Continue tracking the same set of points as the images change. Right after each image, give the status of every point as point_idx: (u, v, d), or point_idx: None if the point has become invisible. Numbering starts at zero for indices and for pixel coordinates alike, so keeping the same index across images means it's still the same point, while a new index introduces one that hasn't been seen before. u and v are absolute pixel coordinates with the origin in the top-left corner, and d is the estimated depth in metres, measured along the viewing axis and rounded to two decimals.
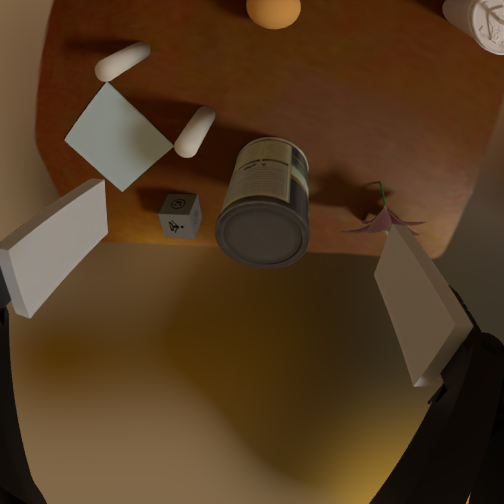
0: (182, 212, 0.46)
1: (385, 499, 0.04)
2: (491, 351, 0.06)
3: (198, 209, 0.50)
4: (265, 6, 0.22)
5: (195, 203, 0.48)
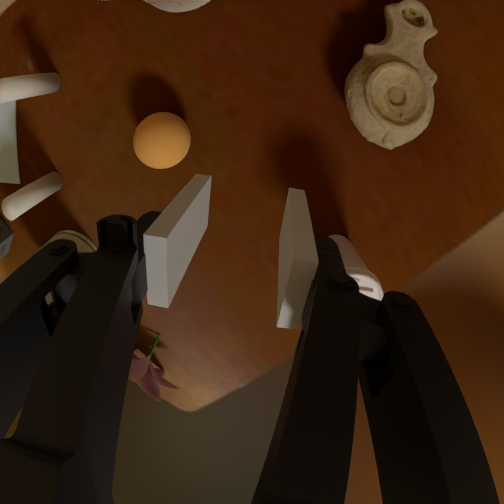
0: None
1: (267, 465, 0.05)
2: (338, 288, 0.08)
3: (7, 245, 0.38)
4: (146, 141, 0.25)
5: (7, 240, 0.37)
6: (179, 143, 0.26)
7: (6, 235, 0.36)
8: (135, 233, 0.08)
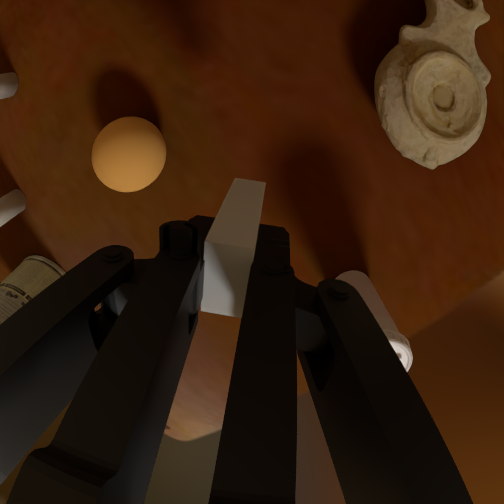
0: None
1: None
2: (272, 274, 0.08)
3: None
4: (104, 158, 0.18)
5: None
6: (148, 159, 0.19)
7: None
8: (200, 242, 0.08)
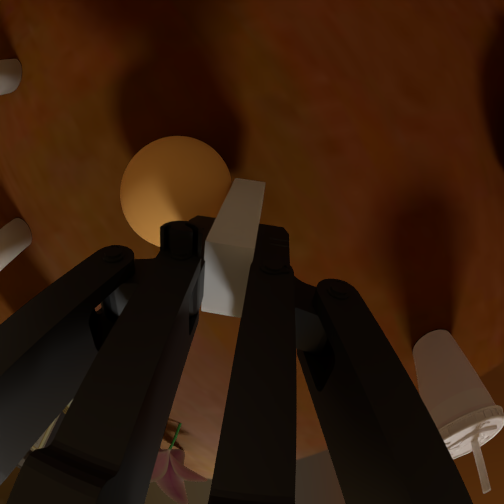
0: None
1: None
2: (271, 274, 0.08)
3: None
4: (133, 199, 0.12)
5: None
6: (200, 212, 0.13)
7: None
8: (200, 242, 0.08)
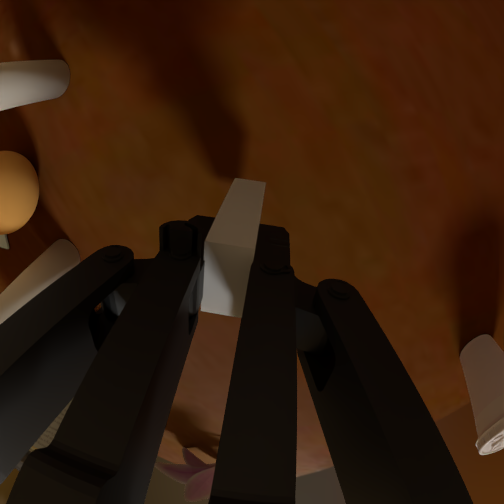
0: None
1: None
2: (272, 274, 0.08)
3: None
4: None
5: None
6: None
7: None
8: (200, 242, 0.08)
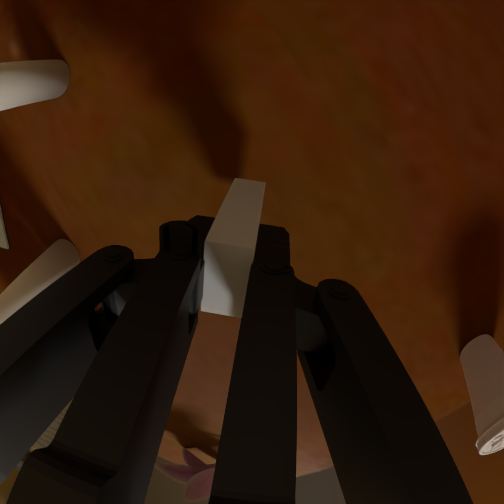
0: None
1: None
2: (272, 274, 0.08)
3: None
4: None
5: None
6: None
7: None
8: (200, 242, 0.08)
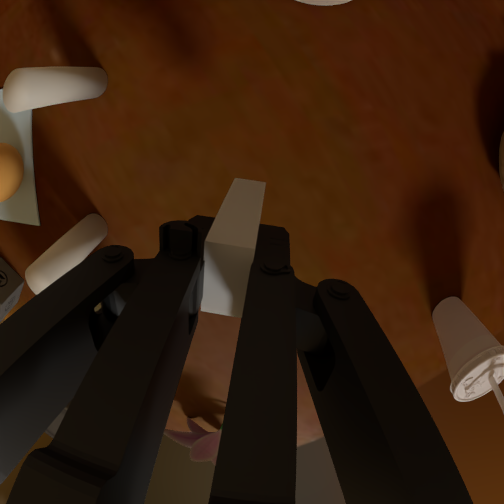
0: None
1: None
2: (272, 274, 0.08)
3: (17, 295, 0.30)
4: None
5: (16, 290, 0.28)
6: None
7: (15, 285, 0.28)
8: (200, 242, 0.08)
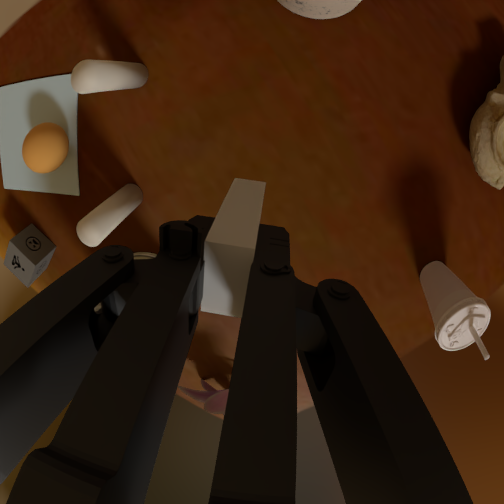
0: (31, 257, 0.31)
1: None
2: (272, 274, 0.08)
3: (48, 260, 0.36)
4: None
5: (48, 255, 0.34)
6: None
7: (47, 249, 0.34)
8: (200, 242, 0.08)
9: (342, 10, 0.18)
